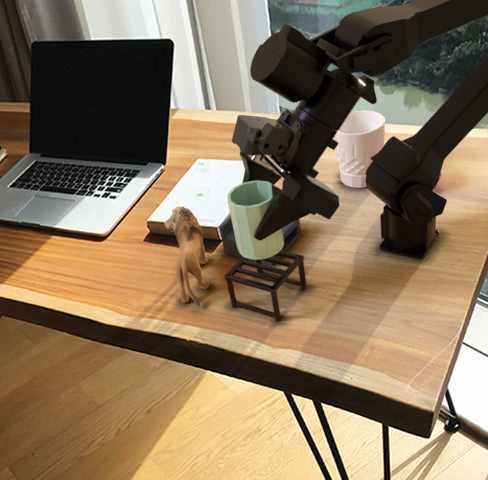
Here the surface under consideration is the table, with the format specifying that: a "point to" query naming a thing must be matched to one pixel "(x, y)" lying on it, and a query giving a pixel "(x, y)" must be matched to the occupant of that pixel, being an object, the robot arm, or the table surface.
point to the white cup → (359, 145)
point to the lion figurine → (188, 249)
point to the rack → (268, 277)
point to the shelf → (230, 242)
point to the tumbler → (253, 219)
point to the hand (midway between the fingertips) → (246, 226)
